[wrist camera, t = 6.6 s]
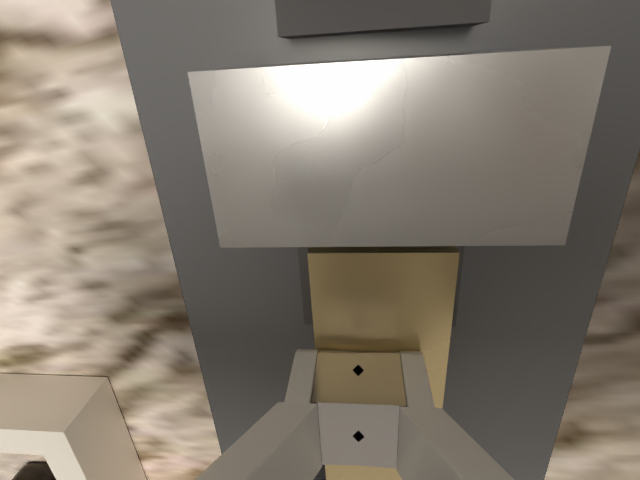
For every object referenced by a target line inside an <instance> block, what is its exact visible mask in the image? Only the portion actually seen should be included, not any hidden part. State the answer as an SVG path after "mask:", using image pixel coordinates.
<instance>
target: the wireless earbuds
mask: <svg viewBox="0 0 640 480" xmlns="http://www.w3.org/2000/svg"><path fill="white" fill-rule="evenodd" d="M12 480H56V478H55V476H54V474H53V473H52V471H51V469H50V467H49V465H48V463H40V462H32V463H28V464H26V465H25V466H23V467H22V468H21V469H20V471H19V472H18V473H17V474H16V475H15V477H14V478H13V479H12Z"/></svg>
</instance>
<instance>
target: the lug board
mask: <svg viewBox="0 0 640 480" xmlns="http://www.w3.org/2000/svg"><path fill="white" fill-rule="evenodd" d="M110 1H111V5H112V9H113V13H114V17H115V21H116V25H117V29H118V33H119V37H120V41H121V46H122V50H123V54H124V58H125V62H126V66H127V70H128V74H129V78H130V82H131V86H132V90H133V94H134V98H135V103H136V107H137V111H138V115H139V119H140V123H141V127H142V131H143V135H144V139H145V143H146V147H147V151H148V155H149V160H150V164H151V168H152V172H153V176H154V180H155V184H156V188H157V192H158V196H159V200H160V204H161V208H162V212H163V216H164V221H165V225H166V229H167V233H168V237H169V241H170V245H171V249H172V253H173V257H174V261H175V265H176V269H177V273H178V278H179V282H180V286H181V290H182V294H183V298H184V302H185V306H186V310H187V314H188V318H189V322H190V326H191V330H192V335H193V339H194V343H195V347H196V351H197V355H198V359H199V363H200V367H201V371H202V375H203V379H204V383H205V387H206V392H207V396H208V400H209V404H210V408H211V412H212V416H213V420H214V424H215V428H216V432H217V436H218V440H219V444H220V449H221V453H222V454H223V453H224V452H225V451H226V450H227V449H228V448H229V447H230V446H232V445H233V444H234V443H235V442H236V441H237V440H238V439H239V438H240V437H241V436H242V435H243V434H244V433H245V432H246V431H248V430H249V429H250V428H251V427H252V426H253V425H254V424H255V423H256V422H257V421H258V420H259V419H260V418H261V417H263V416H264V415H265V414H266V413H267V412H268V411H269V410H270V409H271V408H272V407H273V406H274V405H275V404H276V403H278V402H284V401H285V397H286V392H287V388H288V383H289V379H290V374H291V370H292V365H293V360H294V356H295V353H296V351H297V349H315V340H314V328H313V316H312V304H311V292H310V280H309V268H308V256H307V253H308V249H309V247H390V246H457V248H458V250H459V252H460V254H459V263H458V272H457V282H456V291H455V300H454V309H453V318H452V327H451V336H450V345H449V354H448V363H447V372H446V382H445V391H444V400H443V410H444V411H445V412H446V413H447V414H448V415H449V416H450V417H451V418H452V419H453V420H454V421H455V422H456V423H457V424H458V425H459V426H460V427H461V428H462V429H463V430H464V431H465V432H466V433H467V434H469V435H470V436H471V437H472V438H473V439H474V440H475V441H476V442H477V443H478V444H479V445H480V446H481V447H482V448H483V449H484V450H485V451H486V452H487V453H488V454H489V455H490V456H491V457H492V458H493V459H494V460H495V461H496V462H497V463H498V464H499V465H500V466H501V467H502V468H503V469H504V470H505V471H506V472H507V473H508V474H509V475H510V476H511V477H512V478H513V479H514V480H544V478H545V474H546V471H547V467H548V464H549V460H550V457H551V454H552V450H553V447H554V443H555V440H556V436H557V433H558V429H559V426H560V422H561V419H562V416H563V412H564V409H565V405H566V402H567V398H568V395H569V391H570V388H571V384H572V381H573V378H574V374H575V371H576V367H577V364H578V360H579V357H580V353H581V350H582V346H583V343H584V340H585V336H586V333H587V329H588V326H589V322H590V319H591V315H592V312H593V309H594V305H595V302H596V298H597V295H598V291H599V288H600V284H601V281H602V277H603V274H604V271H605V267H606V264H607V260H608V257H609V253H610V250H611V246H612V243H613V239H614V236H615V233H616V229H617V226H618V222H619V219H620V215H621V212H622V208H623V205H624V201H625V198H626V195H627V191H628V188H629V184H630V181H631V177H632V174H633V170H634V167H635V163H636V160H637V157H638V153H639V150H640V0H110ZM314 480H326V472H325V465H322V468H321V469H320V471H319V472H318V474H317V475H316V477H315V478H314Z"/></svg>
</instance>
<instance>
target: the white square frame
mask: <svg viewBox="0 0 640 480" xmlns="http://www.w3.org/2000/svg"><path fill="white" fill-rule="evenodd" d="M0 453H15V454H32V455H43V456H44V458H45V460H46V461H47V463H48V465H49V467H50V469H51V471H52V473H53V474H54V476H55V478H56V480H147V479H146V476H145V473H144V471H143V468H142V466H141V463H140V460H139V458H138V455H137V453H136V450H135V447H134V445H133V442H132V439H131V437H130V434H129V432H128V429H127V426H126V424H125V421H124V419H123V416H122V413H121V411H120V408H119V406H118V403H117V400H116V398H115V395H114V393H113V390H112V387H111V385H110V382H109V379H108V377H90V376H61V375H32V374H3V373H0Z"/></svg>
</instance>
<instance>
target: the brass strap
mask: <svg viewBox="0 0 640 480" xmlns="http://www.w3.org/2000/svg"><path fill="white" fill-rule="evenodd" d="M459 254H460V252H459V250H458V248H457V246H390V247H309V249H308V253H307V256H308V268H309V280H310V292H311V304H312V316H313V328H314V340H315V350H319V349H323V350H345V351H380V352H400V351H421V352H422V353H423V355H424V360H425V365H426V369H427V374H428V379H429V383H430V388H431V392H432V397H433V402H434V406H435V408H442V409H443V400H444V391H445V382H446V372H447V363H448V354H449V345H450V336H451V327H452V318H453V309H454V300H455V291H456V282H457V272H458V263H459ZM325 472H326V480H402V478H401V477H400V475H399V473H398V472H397V469H395V468H383V467H371V466H359V465H325Z"/></svg>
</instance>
